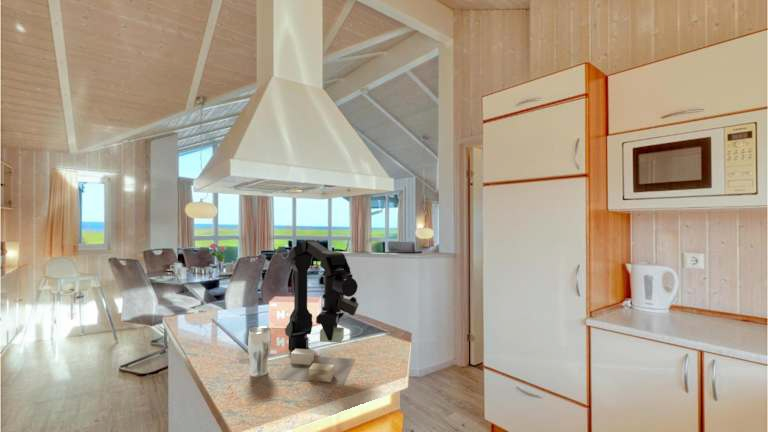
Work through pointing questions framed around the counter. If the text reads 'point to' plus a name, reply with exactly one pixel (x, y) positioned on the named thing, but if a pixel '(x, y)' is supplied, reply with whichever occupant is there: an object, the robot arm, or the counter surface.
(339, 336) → the sage green block
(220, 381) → the counter surface
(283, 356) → the counter surface
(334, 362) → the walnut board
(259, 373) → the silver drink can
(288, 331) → the robot arm
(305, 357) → the cream block
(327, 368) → the maple base block
